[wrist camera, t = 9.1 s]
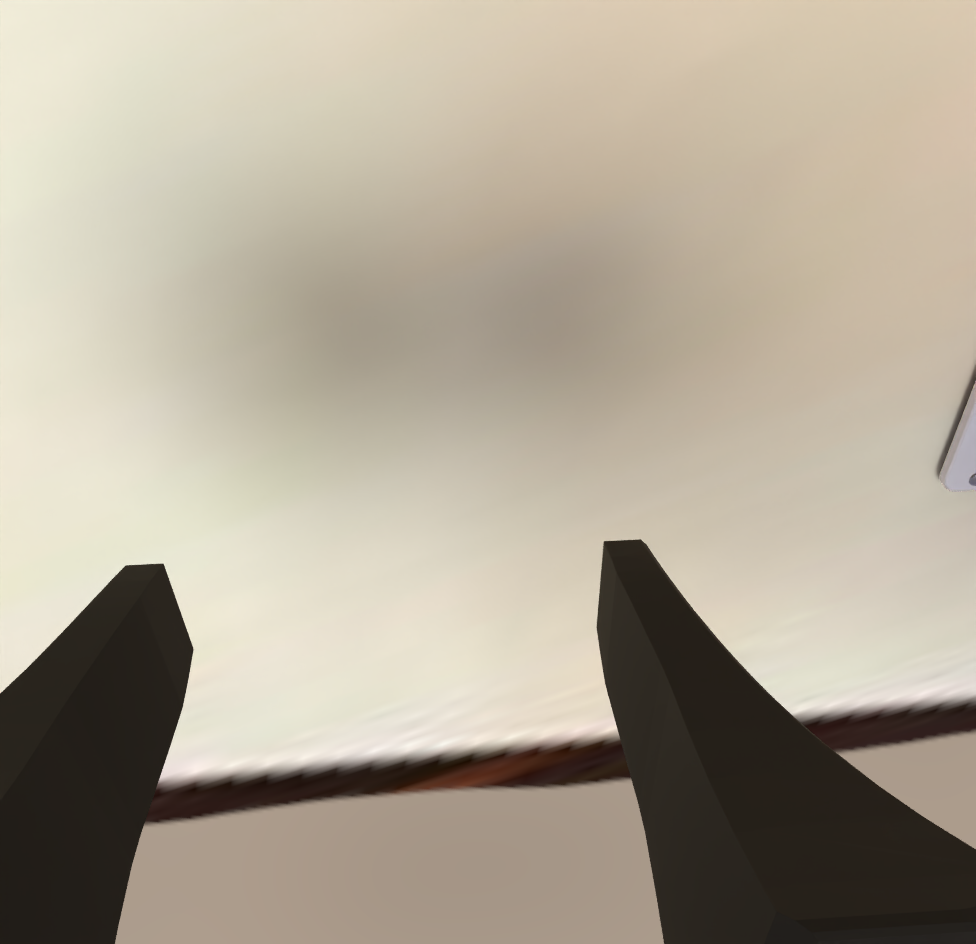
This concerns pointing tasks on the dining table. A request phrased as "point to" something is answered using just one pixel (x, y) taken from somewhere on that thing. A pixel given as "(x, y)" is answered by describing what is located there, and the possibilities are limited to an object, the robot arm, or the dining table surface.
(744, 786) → the robot arm
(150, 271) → the dining table surface
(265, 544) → the dining table surface
